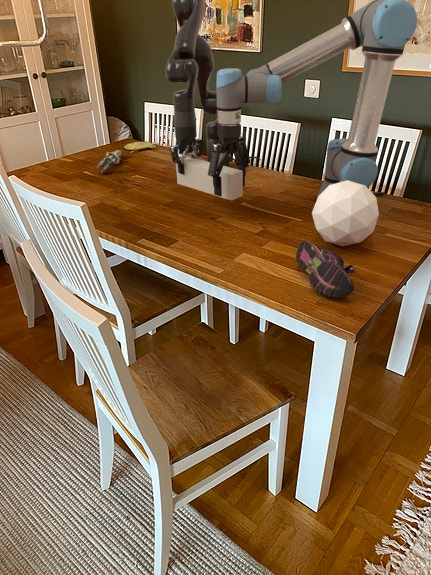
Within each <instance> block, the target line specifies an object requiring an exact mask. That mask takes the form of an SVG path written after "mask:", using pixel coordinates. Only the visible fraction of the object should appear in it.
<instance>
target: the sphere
mask: <svg viewBox="0 0 431 575" xmlns="http://www.w3.org/2000/svg"><path fill="white" fill-rule="evenodd" d="M373 193H374V192H372V191H371V190H370V189H369V187H366V186H365V185H362V184H358V183H355V182H352V181H349V180H347V181H343V182H339V183H335V184H332V185H329V186H328V187H327V188H326V189H325V190H324V191H323V192H322V193H321V194H320V195H319V196H318V195H317V196H318V198H316V202H315V203H314V205H313V206H314V207H313V209H312V211H311V216H312V219H313V223H314V227H315V229H316V231H317V232H318V234H319V235H320V236H321V237H322V238H323V240H324V242H326V243H330V244H334V245H336V246H340V247H342V248H343V247H347V246H351V245H355V244H360V243H362V242H363V241H364V240H365V239H367V238H368V237H369V236H370V235H372V234H373V233H374V232H375V228H376V225H377V222H378V219H379V216H380V213H379V212H380V211H379V206H378V199H377V196H376V195H373Z"/></svg>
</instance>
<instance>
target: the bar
mask: <svg viewBox="0 0 431 575" xmlns="http://www.w3.org/2000/svg"><path fill="white" fill-rule="evenodd" d="M180 160H181V159H180ZM183 164H184V174H180V173H179V172H178V164H177V163H175V170H176V181H177V182H176V184H178V185H179V186H184V187H187V188H190V189H193V190H196V191H199V192H201V193H202V192H203V193H206V194H209V195H212V196H216V197H218V198H222V199H225V200H228V201H234V200H236V199H238V198H239V199H240V198H241V197H243V195H244V192H243V191H244V190H243V189H244V187H243V171H242V170H238V168H233V167H230V166H229V167H226V166H223V168H222V171H221V173H220V177H221V182H222V196H217V195H214V186H213V177H212V176H209V175H208V170H209V165H210V162H207V161H206V160H202V159H199V158H198V159H195V158H191V156H186V158H185V159H184V163H183ZM216 173H217V172H216Z"/></svg>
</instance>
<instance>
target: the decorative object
mask: <svg viewBox="0 0 431 575" xmlns="http://www.w3.org/2000/svg"><path fill="white" fill-rule="evenodd" d="M148 148H151V149H153V148H157V142H155V141H153V142H147V141H136V142H130V143H126V144H125V145H124V149H126V150H130V154H132V153H134V152H137V151H139V150H143V149H148Z"/></svg>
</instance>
